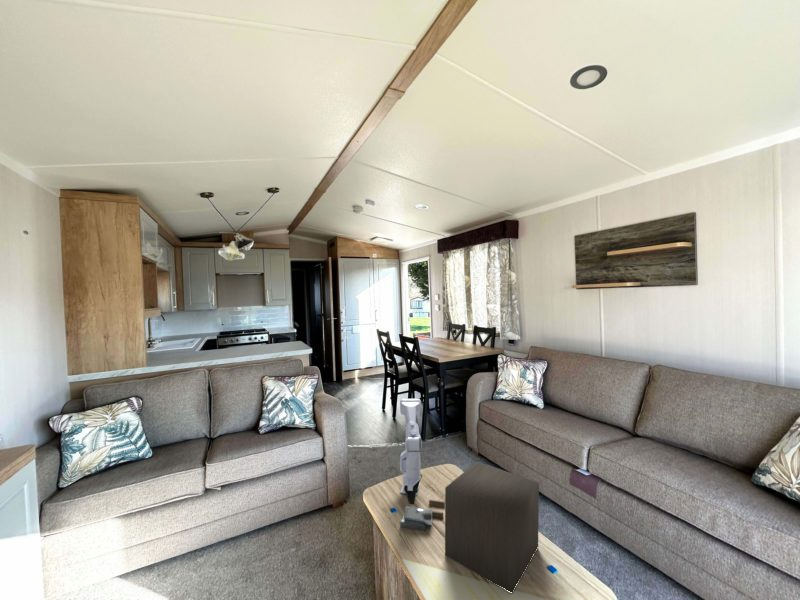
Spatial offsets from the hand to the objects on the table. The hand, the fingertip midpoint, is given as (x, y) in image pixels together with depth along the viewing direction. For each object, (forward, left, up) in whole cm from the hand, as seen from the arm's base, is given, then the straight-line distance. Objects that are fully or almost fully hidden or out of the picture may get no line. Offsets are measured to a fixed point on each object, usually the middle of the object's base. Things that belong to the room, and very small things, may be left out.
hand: (413, 498), depth 141 cm
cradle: (0, 0, -10) cm, 10 cm away
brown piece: (-9, +8, -10) cm, 16 cm away
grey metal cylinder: (0, +2, -9) cm, 9 cm away
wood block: (+10, +31, -10) cm, 34 cm away
